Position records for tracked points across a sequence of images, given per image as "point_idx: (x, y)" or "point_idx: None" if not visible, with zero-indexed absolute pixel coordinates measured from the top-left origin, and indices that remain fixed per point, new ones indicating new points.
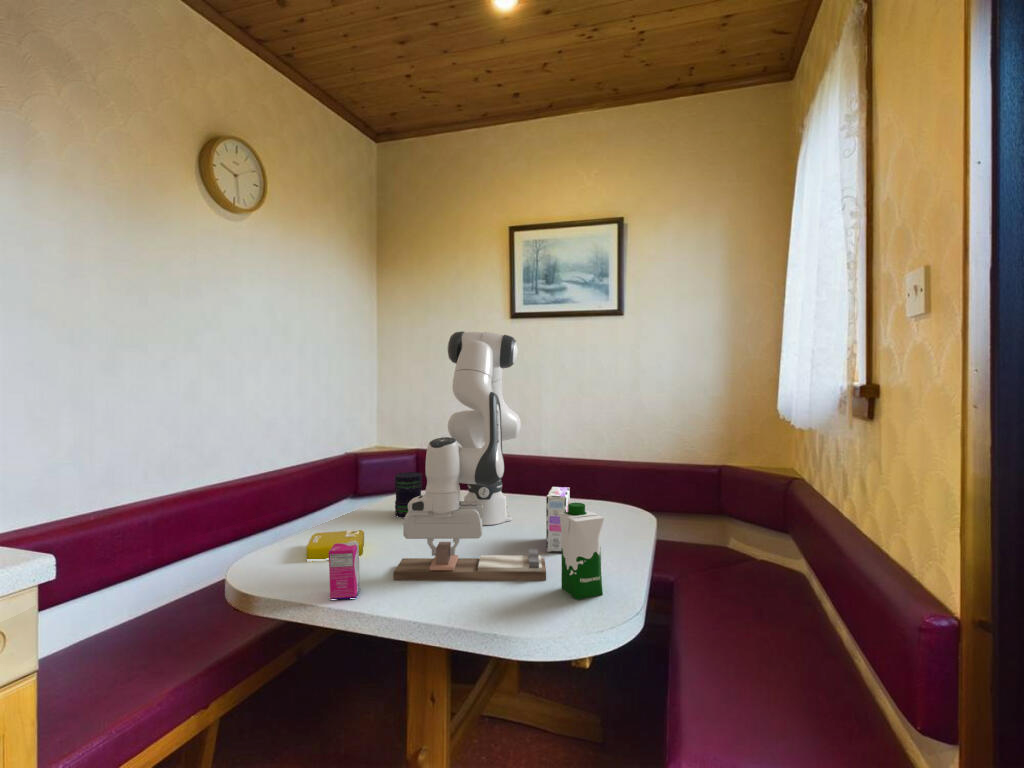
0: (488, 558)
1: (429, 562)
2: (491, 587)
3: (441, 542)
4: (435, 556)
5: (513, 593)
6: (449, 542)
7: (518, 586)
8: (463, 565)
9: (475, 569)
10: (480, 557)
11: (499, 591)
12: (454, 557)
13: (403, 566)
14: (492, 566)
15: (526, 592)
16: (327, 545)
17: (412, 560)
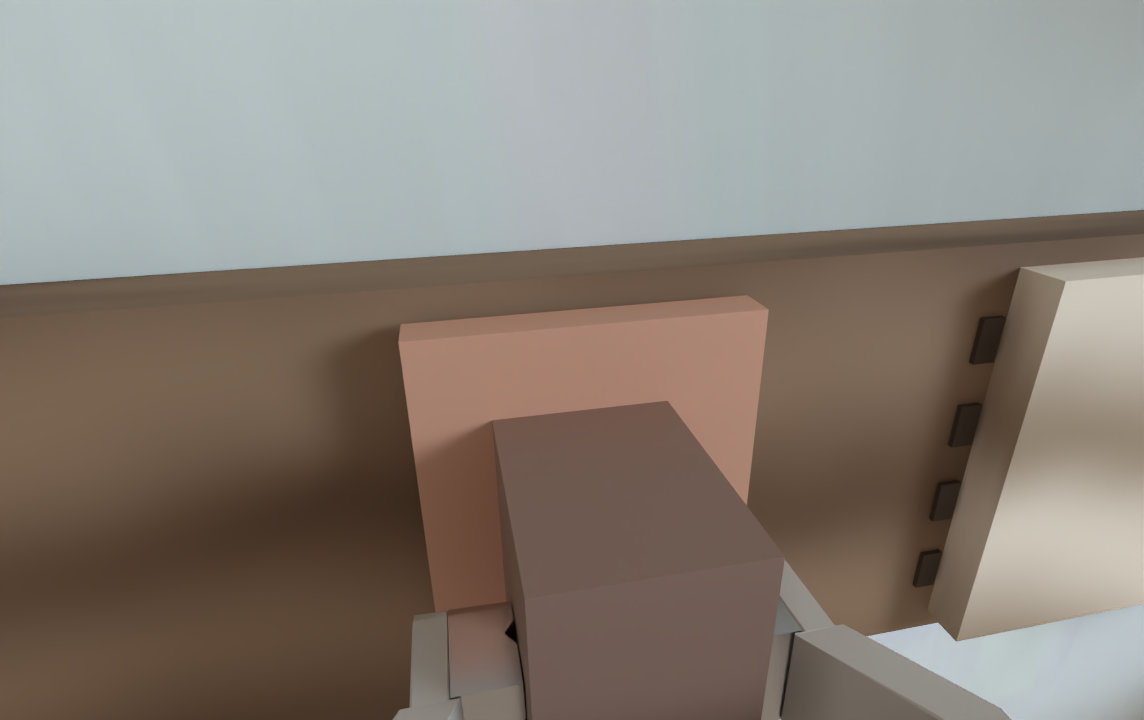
0: (1122, 387)
1: (350, 464)
2: (951, 658)
3: (580, 635)
4: (416, 412)
5: (1058, 702)
6: (756, 609)
7: (1121, 611)
8: (804, 498)
9: (913, 571)
10: (1044, 364)
11: (987, 697)
12: (718, 420)
13: (19, 644)
14: (1090, 595)
15: (1132, 675)
16: None
17: (15, 420)
